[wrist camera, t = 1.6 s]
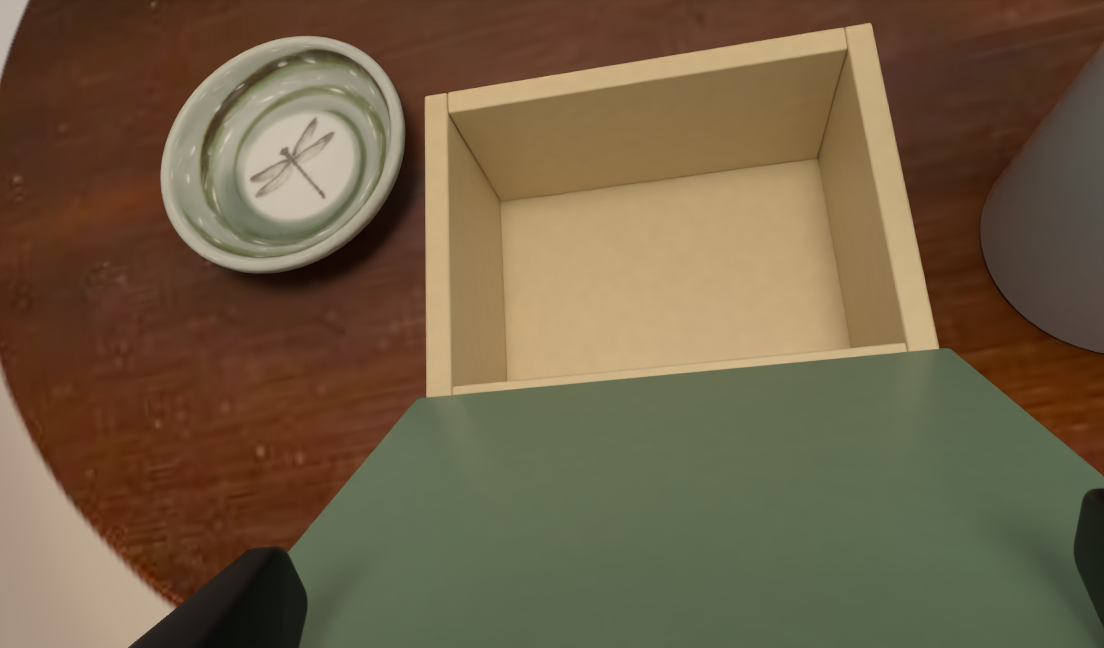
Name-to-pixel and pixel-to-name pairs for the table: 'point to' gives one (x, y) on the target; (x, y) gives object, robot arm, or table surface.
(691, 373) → the lid
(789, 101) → the open box
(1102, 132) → the stepped grey cylinder
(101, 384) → the table surface
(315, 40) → the saucer
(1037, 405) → the table surface
